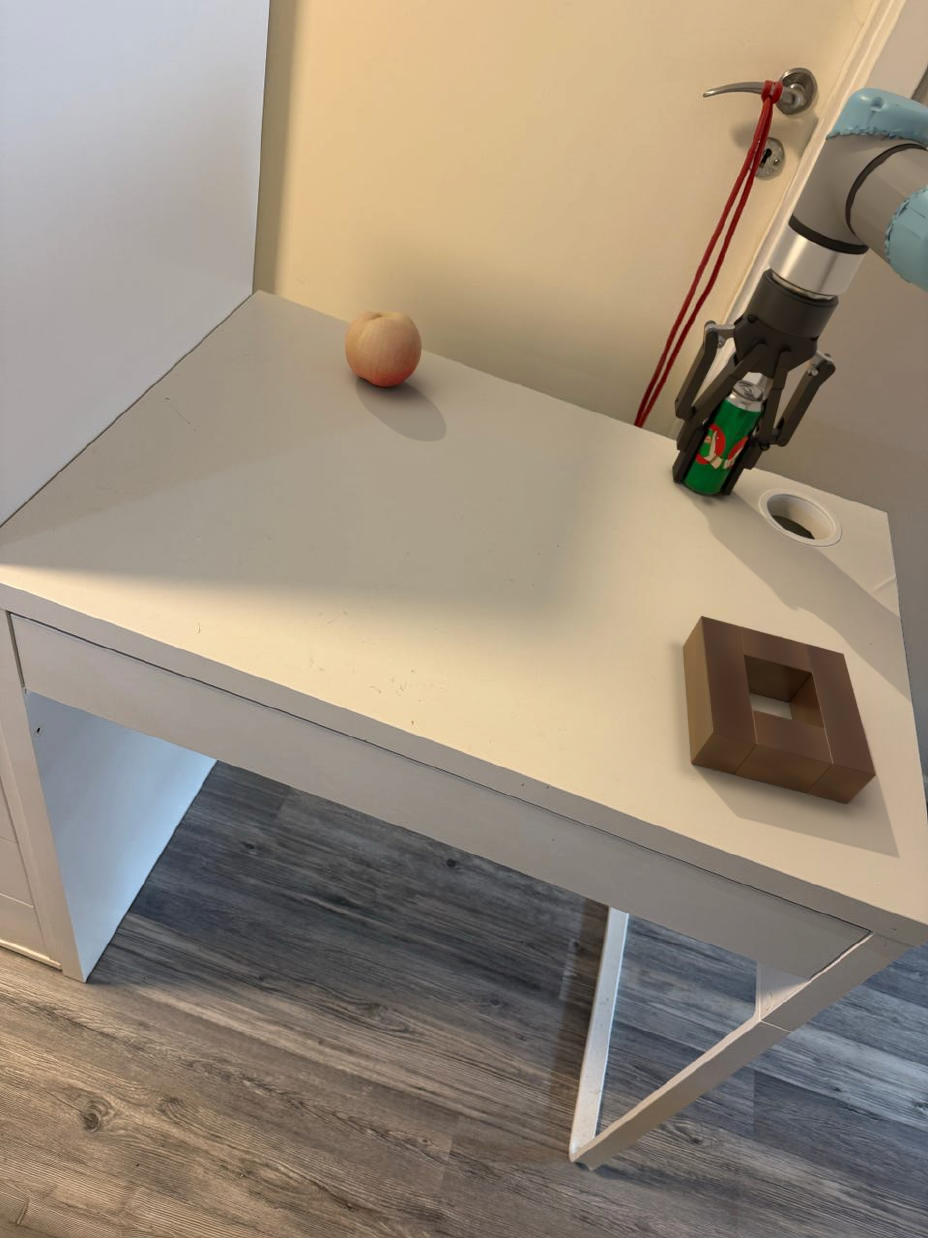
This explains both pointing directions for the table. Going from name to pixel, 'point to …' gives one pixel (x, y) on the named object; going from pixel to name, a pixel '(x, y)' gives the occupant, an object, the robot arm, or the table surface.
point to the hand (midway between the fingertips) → (700, 480)
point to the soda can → (725, 437)
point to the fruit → (383, 347)
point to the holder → (767, 744)
